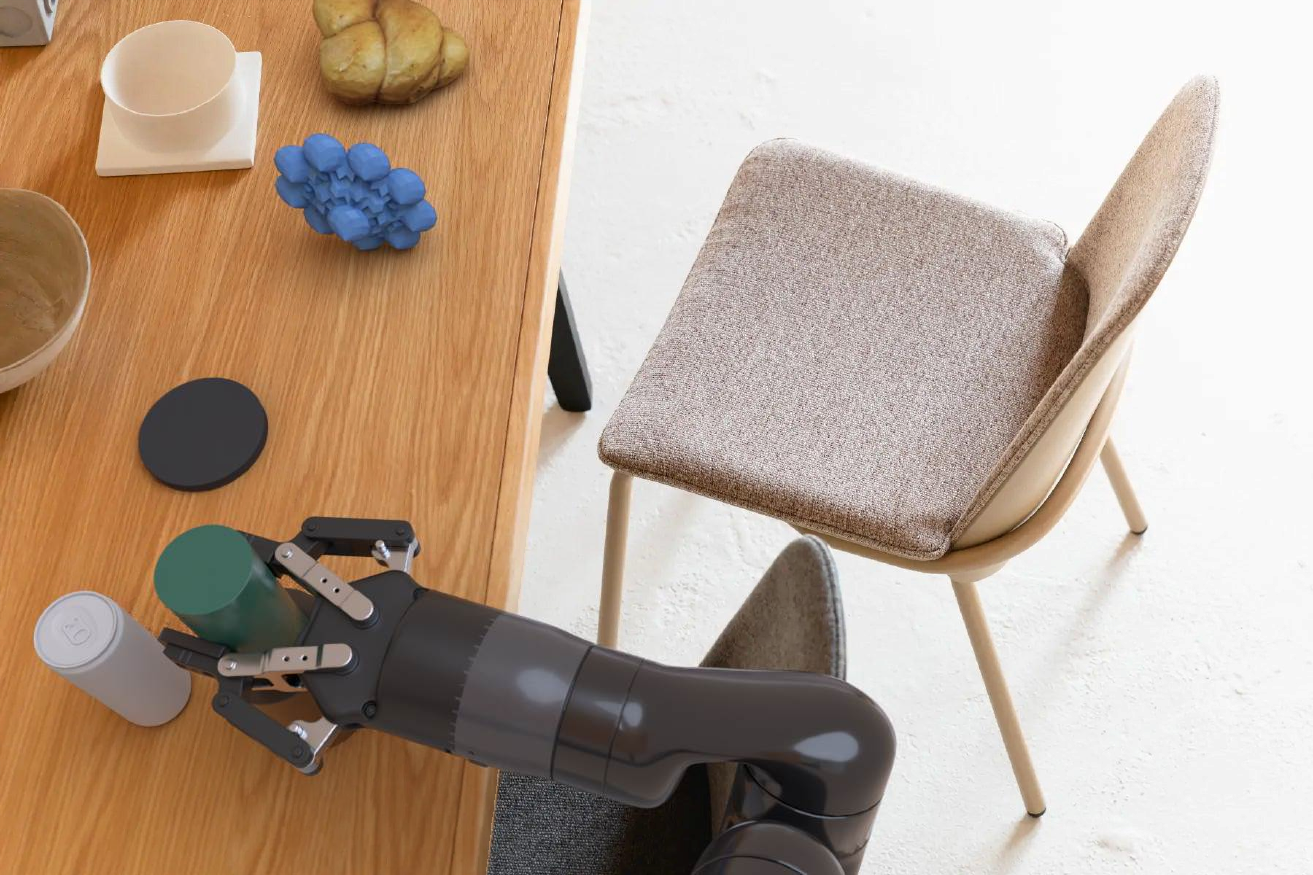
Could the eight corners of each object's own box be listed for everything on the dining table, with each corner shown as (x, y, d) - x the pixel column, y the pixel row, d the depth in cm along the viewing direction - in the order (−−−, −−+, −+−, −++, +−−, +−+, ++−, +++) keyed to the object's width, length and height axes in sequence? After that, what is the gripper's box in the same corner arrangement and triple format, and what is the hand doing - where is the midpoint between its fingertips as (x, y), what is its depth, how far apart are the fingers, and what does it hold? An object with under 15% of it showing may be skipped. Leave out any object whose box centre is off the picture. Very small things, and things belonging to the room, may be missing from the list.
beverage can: (169, 642, 77) (89, 571, 67) (210, 692, 76) (135, 628, 65) (106, 692, 76) (14, 628, 65) (146, 745, 74) (58, 688, 63)
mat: (177, 515, 82) (171, 509, 81) (122, 427, 85) (116, 420, 84) (290, 446, 84) (286, 439, 83) (232, 363, 88) (228, 356, 87)
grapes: (289, 286, 91) (239, 182, 81) (307, 218, 95) (261, 110, 84) (436, 292, 91) (405, 188, 80) (449, 223, 94) (420, 115, 84)
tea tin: (254, 702, 65) (180, 634, 55) (214, 637, 67) (136, 560, 57) (329, 651, 66) (270, 576, 57) (288, 589, 68) (225, 506, 59)
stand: (297, 773, 73) (245, 730, 64) (245, 686, 76) (188, 633, 67) (394, 705, 75) (356, 654, 66) (339, 623, 78) (296, 564, 69)
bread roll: (478, 43, 104) (464, -33, 97) (464, 123, 99) (447, 50, 92) (336, 40, 105) (311, -36, 98) (315, 120, 100) (287, 46, 93)
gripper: (532, 530, 59) (230, 444, 62) (420, 808, 52) (88, 698, 55) (546, 586, 66) (273, 506, 68) (449, 840, 59) (150, 739, 62)
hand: (192, 592), depth 62 cm, fingers closed on tea tin, 4 cm apart
